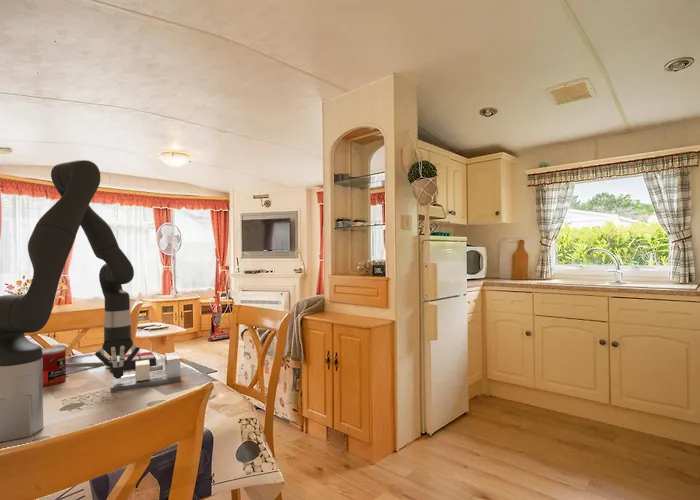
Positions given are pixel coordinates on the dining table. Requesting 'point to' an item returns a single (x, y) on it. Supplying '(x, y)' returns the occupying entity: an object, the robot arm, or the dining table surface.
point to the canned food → (54, 365)
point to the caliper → (85, 364)
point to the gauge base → (151, 376)
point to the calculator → (137, 357)
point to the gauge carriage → (145, 370)
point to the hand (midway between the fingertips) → (118, 378)
